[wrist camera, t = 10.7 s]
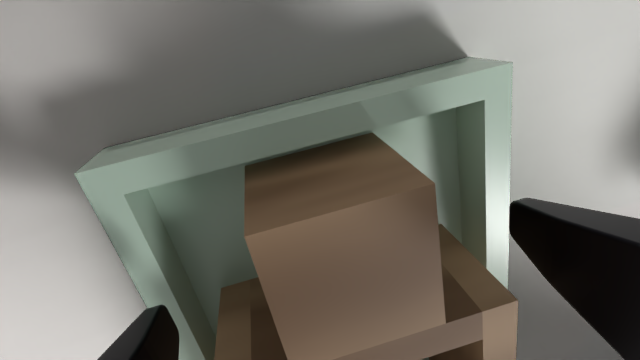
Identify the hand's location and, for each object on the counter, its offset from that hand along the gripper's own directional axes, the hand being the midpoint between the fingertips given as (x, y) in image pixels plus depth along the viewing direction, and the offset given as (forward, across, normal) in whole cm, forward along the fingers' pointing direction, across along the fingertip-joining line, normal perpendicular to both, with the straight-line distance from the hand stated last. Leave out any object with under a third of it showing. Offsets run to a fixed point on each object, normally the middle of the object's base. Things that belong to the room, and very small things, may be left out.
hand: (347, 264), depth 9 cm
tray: (+4, 0, +4) cm, 5 cm away
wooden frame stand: (+3, 0, +4) cm, 5 cm away
